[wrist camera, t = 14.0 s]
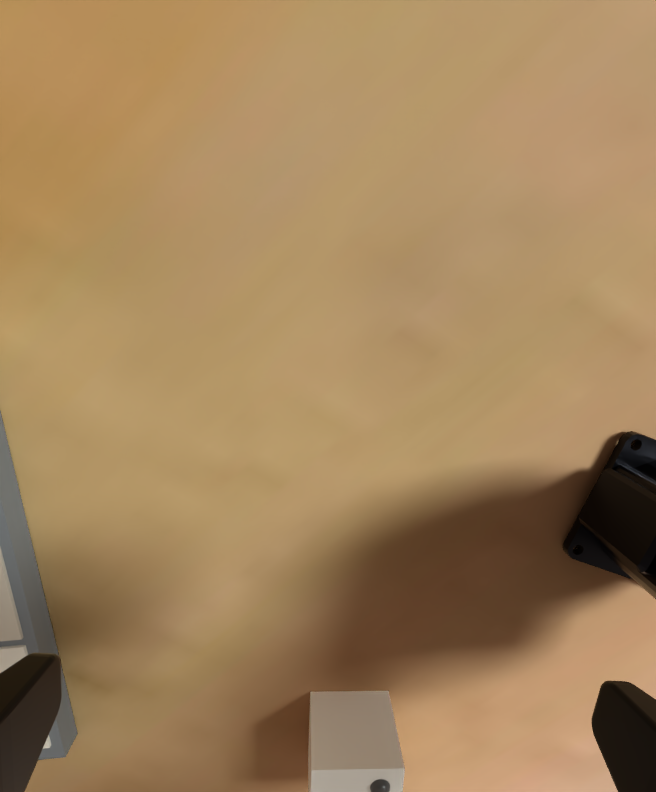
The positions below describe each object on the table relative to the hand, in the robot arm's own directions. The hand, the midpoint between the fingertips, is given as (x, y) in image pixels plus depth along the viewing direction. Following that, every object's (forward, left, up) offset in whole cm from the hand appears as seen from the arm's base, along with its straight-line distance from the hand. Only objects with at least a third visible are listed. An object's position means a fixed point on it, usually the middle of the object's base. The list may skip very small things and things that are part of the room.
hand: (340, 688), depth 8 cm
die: (-7, +14, -13) cm, 20 cm away
